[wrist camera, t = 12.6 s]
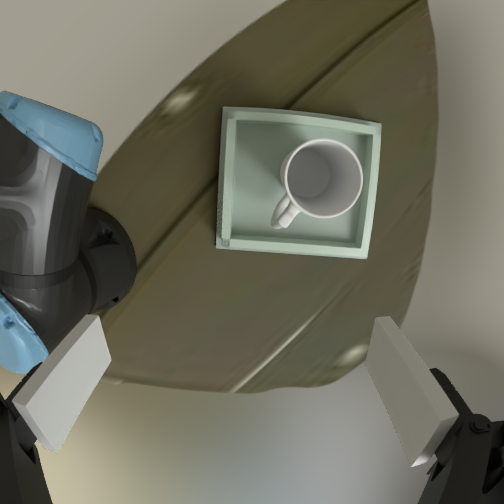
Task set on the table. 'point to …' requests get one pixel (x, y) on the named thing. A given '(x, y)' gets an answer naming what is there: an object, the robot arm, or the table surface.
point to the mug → (318, 181)
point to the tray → (272, 190)
